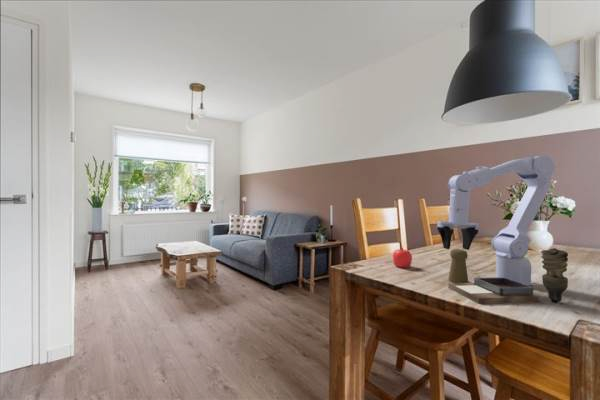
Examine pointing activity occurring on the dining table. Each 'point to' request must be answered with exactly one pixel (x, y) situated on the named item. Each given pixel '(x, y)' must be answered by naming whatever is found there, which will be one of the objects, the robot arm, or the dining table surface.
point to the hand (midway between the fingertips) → (456, 248)
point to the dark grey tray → (513, 289)
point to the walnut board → (492, 295)
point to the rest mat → (474, 289)
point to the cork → (458, 266)
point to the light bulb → (555, 273)
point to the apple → (402, 258)
